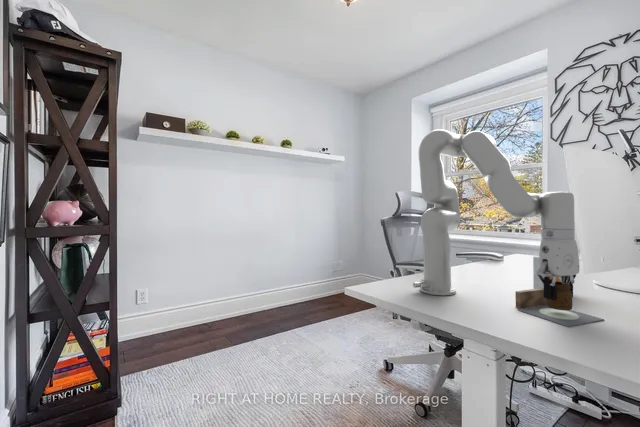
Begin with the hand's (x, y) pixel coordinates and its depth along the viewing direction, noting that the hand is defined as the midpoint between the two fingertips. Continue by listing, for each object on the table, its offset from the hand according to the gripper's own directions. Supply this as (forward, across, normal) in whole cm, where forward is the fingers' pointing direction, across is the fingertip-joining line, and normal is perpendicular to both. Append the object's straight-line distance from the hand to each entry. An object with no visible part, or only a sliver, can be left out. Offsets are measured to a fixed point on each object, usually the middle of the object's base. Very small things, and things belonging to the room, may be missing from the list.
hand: (558, 297), depth 86 cm
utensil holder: (+3, 0, 0) cm, 3 cm away
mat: (+5, 0, 0) cm, 5 cm away
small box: (+5, +21, +17) cm, 28 cm away
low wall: (+5, +5, +8) cm, 11 cm away
